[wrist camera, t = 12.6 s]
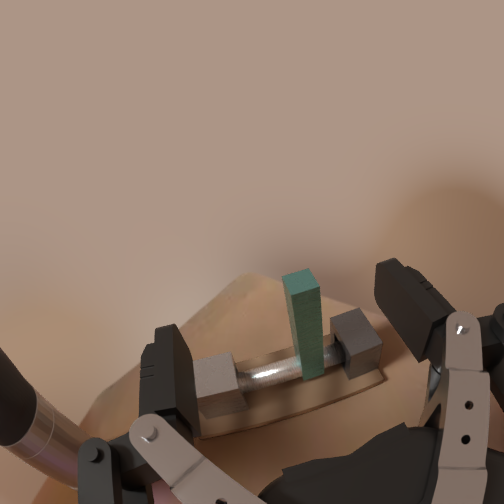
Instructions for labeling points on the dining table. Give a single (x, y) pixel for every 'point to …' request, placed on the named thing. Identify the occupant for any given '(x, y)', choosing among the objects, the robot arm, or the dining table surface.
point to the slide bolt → (298, 338)
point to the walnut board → (288, 395)
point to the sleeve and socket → (224, 370)
